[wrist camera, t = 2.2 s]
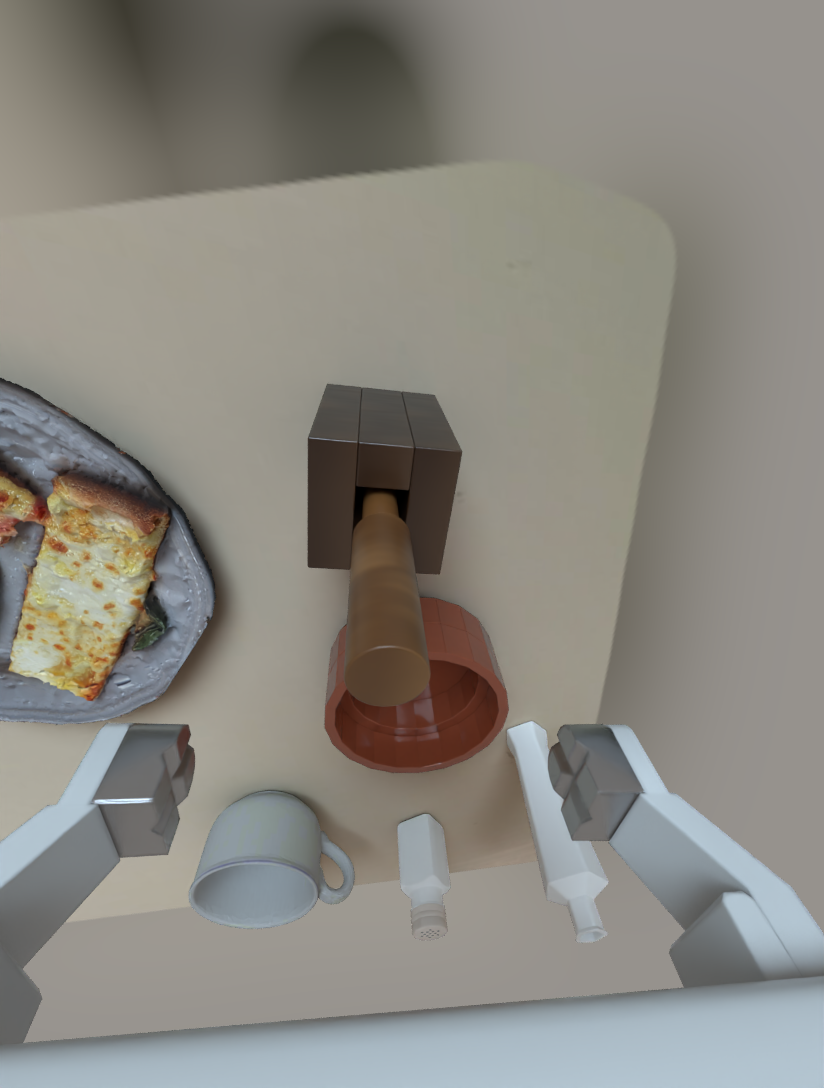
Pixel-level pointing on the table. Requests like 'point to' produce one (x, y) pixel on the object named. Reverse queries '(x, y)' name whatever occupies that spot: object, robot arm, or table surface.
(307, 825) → the teacup
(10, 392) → the food plate
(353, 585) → the stirring stick
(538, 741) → the white faceted bottle
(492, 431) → the table surface
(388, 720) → the bowl
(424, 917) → the salt shaker
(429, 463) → the utensil block
